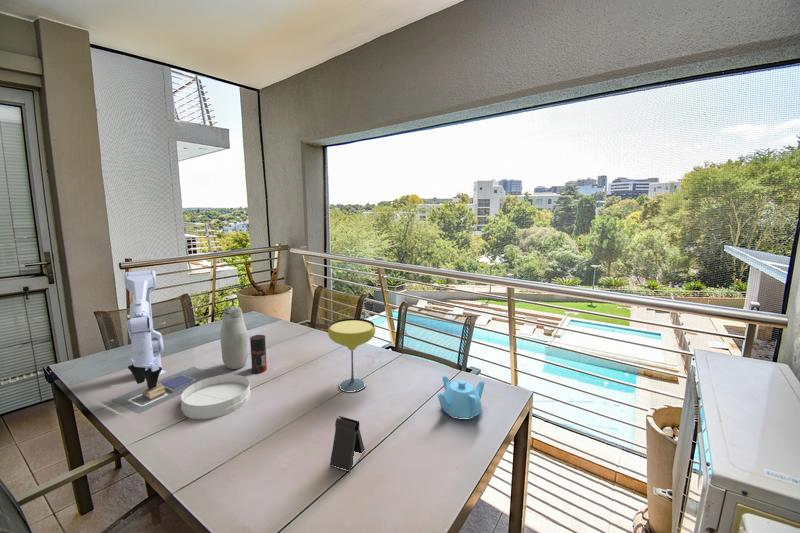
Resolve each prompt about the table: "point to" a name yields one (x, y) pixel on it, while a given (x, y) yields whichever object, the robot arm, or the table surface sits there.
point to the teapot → (461, 398)
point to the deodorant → (258, 353)
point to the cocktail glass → (351, 342)
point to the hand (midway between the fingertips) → (146, 385)
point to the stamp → (153, 392)
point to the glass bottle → (234, 338)
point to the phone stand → (346, 442)
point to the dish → (215, 396)
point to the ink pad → (178, 383)
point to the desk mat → (141, 404)
